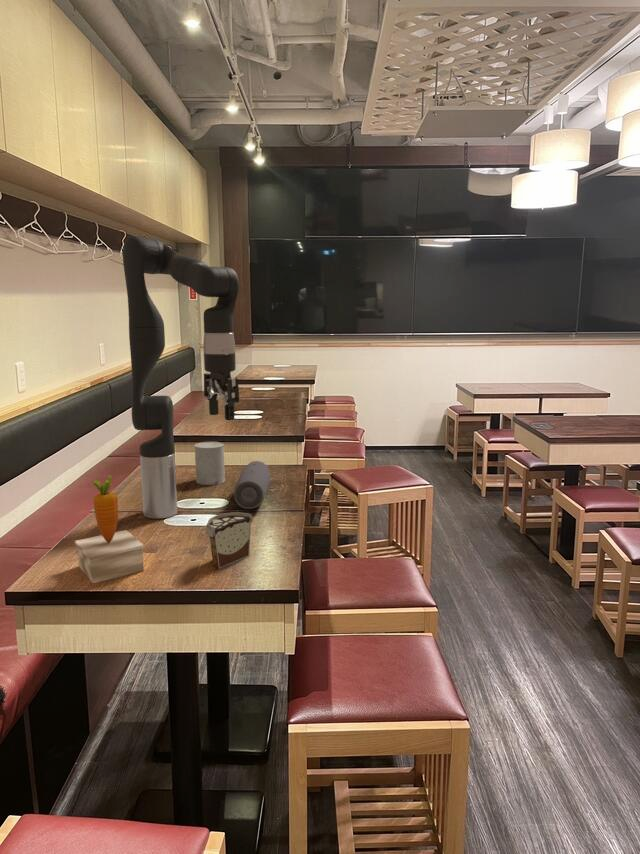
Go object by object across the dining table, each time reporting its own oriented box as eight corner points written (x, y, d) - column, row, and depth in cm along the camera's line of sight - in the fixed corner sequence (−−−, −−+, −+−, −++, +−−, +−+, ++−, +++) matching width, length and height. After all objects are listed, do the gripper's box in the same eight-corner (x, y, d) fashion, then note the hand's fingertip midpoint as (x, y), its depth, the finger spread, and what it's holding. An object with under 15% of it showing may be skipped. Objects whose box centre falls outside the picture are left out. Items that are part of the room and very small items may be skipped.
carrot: (96, 548, 137) (90, 481, 134) (97, 539, 142) (92, 475, 139) (120, 545, 138) (115, 479, 135) (121, 537, 143) (116, 473, 140)
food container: (235, 547, 152) (234, 508, 150) (253, 554, 149) (252, 513, 147) (195, 564, 143) (193, 522, 141) (213, 571, 139) (212, 528, 137)
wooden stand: (76, 566, 142) (74, 540, 141) (127, 554, 149) (126, 529, 148) (91, 584, 133) (89, 557, 132) (145, 570, 140) (143, 545, 138)
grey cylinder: (223, 484, 205) (221, 447, 202) (193, 485, 205) (191, 448, 202) (226, 476, 214) (225, 441, 212) (198, 477, 214) (197, 441, 212)
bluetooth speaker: (242, 489, 200) (241, 459, 198) (271, 489, 200) (271, 459, 198) (232, 513, 177) (231, 479, 175) (265, 513, 177) (264, 479, 175)
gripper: (192, 350, 157) (195, 414, 160) (218, 354, 146) (221, 423, 149) (220, 349, 161) (222, 411, 164) (247, 352, 150) (249, 420, 153)
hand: (221, 417), depth 157 cm, fingers open, 8 cm apart
